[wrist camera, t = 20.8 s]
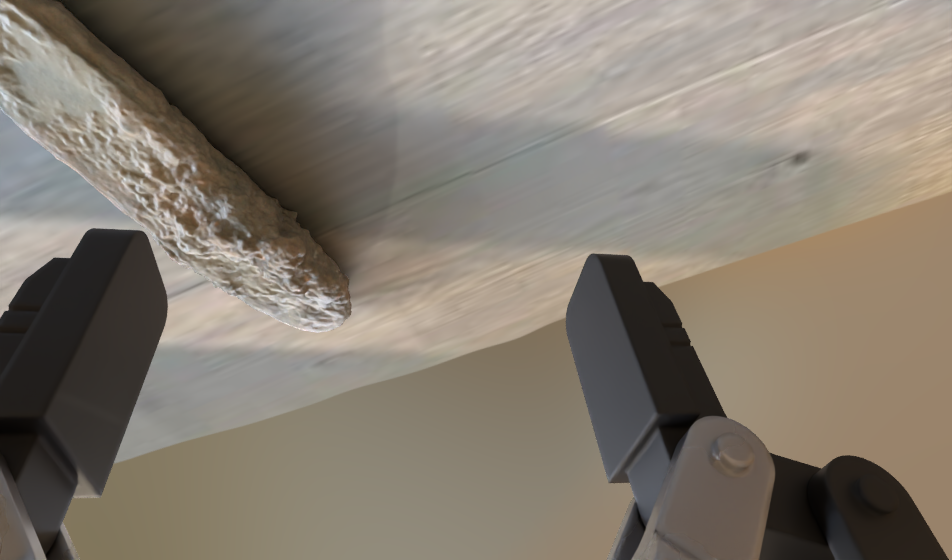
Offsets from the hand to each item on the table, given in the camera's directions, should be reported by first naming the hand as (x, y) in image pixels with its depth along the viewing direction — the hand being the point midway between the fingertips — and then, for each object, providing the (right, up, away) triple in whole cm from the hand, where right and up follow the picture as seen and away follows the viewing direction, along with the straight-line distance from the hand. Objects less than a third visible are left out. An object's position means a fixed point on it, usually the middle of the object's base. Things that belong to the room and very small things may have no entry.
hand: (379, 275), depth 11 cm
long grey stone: (-19, +8, +29) cm, 36 cm away
